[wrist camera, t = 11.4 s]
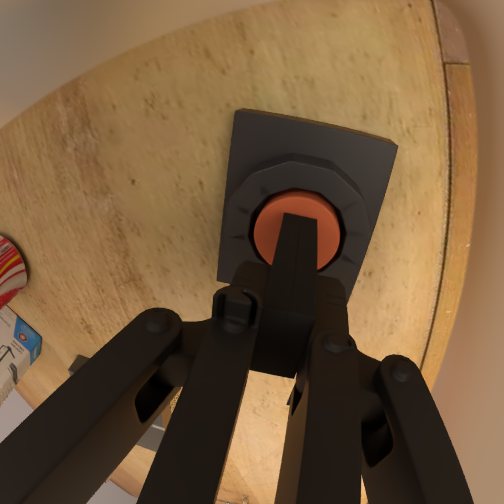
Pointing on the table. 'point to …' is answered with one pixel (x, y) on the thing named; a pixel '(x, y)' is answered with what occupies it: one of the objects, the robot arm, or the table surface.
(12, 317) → the ink box
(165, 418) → the dark grey base plate
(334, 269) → the button box
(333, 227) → the button
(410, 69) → the table surface
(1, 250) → the beverage can
